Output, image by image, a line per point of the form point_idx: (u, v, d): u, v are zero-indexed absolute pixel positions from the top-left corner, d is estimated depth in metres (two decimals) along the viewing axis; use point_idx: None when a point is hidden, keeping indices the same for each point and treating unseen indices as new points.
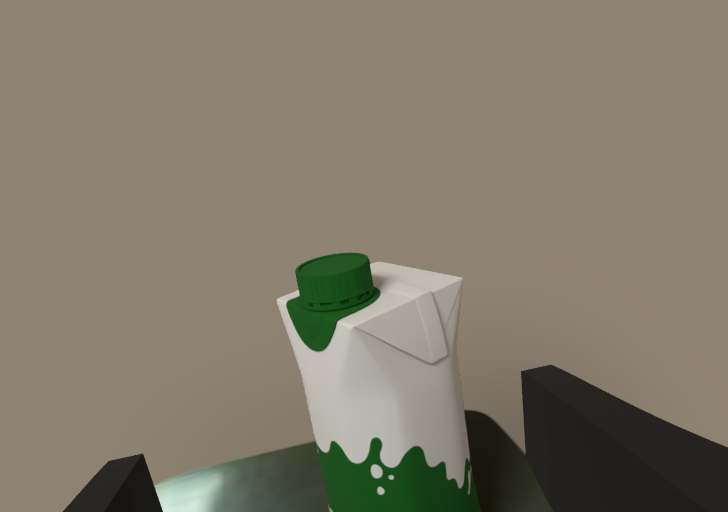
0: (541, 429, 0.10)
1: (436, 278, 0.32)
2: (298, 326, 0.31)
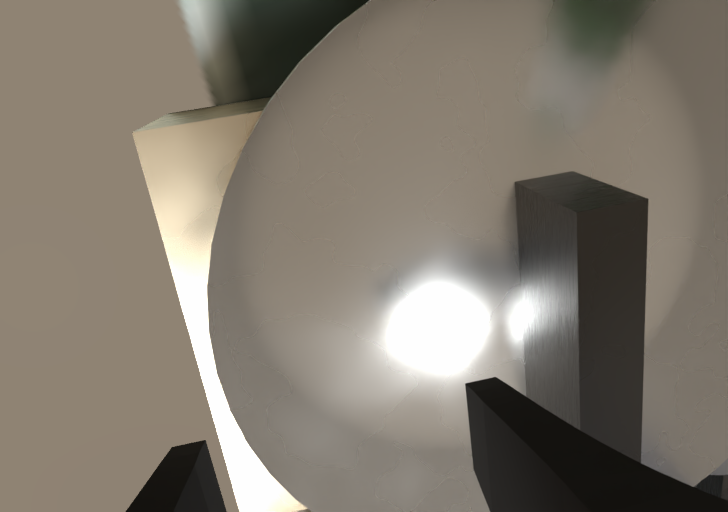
0: (482, 442, 0.10)
1: None
2: None
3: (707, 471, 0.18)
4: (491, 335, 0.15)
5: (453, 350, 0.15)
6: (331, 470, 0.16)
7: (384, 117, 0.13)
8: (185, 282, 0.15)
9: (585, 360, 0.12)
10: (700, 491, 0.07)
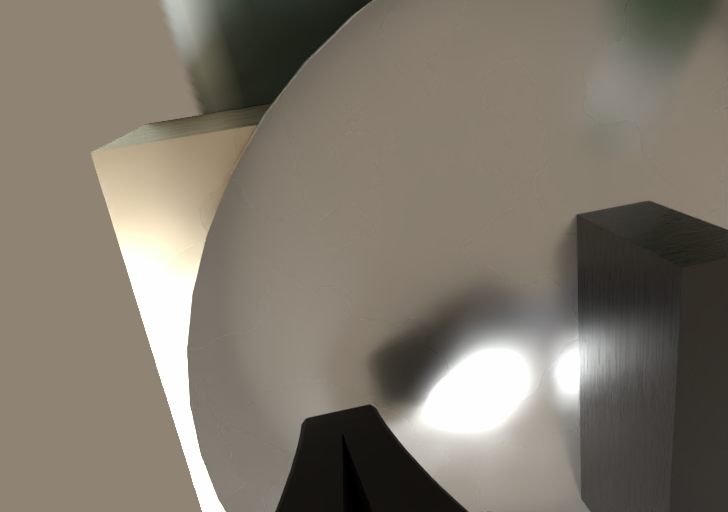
0: None
1: None
2: None
3: None
4: (541, 401, 0.12)
5: (494, 419, 0.12)
6: None
7: (414, 134, 0.10)
8: (161, 337, 0.12)
9: (680, 454, 0.09)
10: None
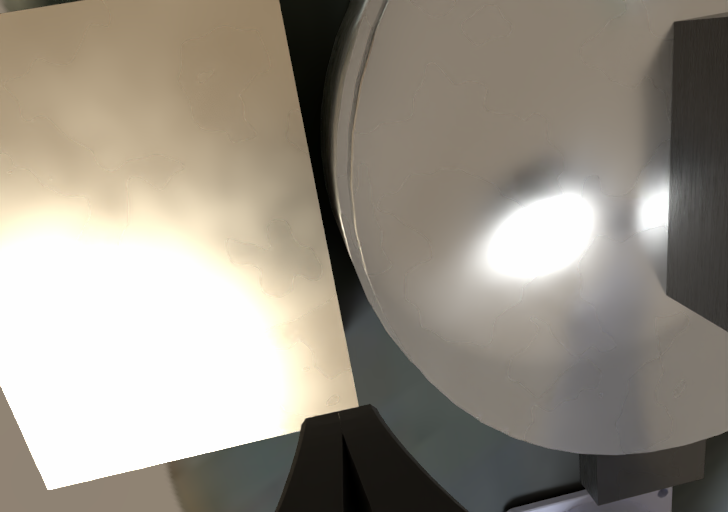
0: None
1: None
2: None
3: None
4: (637, 198, 0.14)
5: (597, 214, 0.14)
6: (465, 347, 0.15)
7: None
8: None
9: None
10: None
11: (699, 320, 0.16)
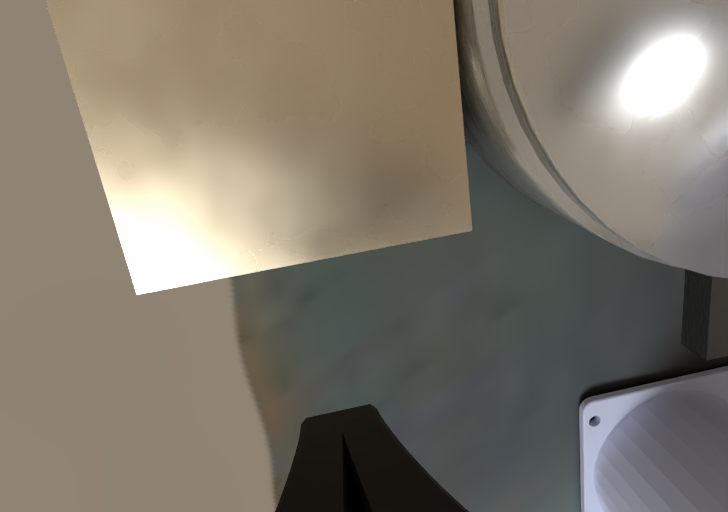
0: None
1: None
2: None
3: None
4: None
5: None
6: (602, 133, 0.14)
7: None
8: None
9: None
10: None
11: None
